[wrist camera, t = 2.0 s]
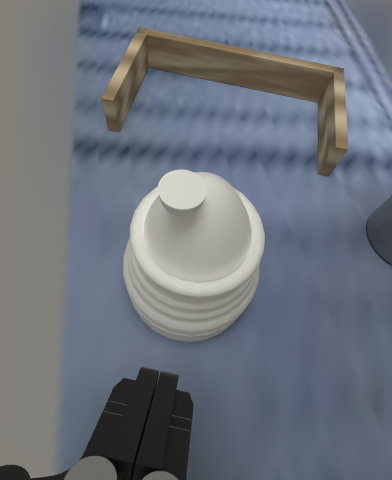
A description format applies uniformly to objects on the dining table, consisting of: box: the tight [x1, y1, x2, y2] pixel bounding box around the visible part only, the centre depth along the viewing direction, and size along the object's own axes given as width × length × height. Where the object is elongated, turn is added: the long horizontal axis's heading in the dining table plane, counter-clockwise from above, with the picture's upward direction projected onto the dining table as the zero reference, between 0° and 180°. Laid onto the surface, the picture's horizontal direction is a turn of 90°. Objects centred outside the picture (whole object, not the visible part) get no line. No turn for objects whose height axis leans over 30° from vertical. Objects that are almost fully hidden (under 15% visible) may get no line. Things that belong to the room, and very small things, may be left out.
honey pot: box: [123, 170, 265, 342], centre depth 24 cm, size 13×13×18 cm
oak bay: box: [101, 27, 348, 176], centre depth 43 cm, size 16×31×5 cm, turn 79°
